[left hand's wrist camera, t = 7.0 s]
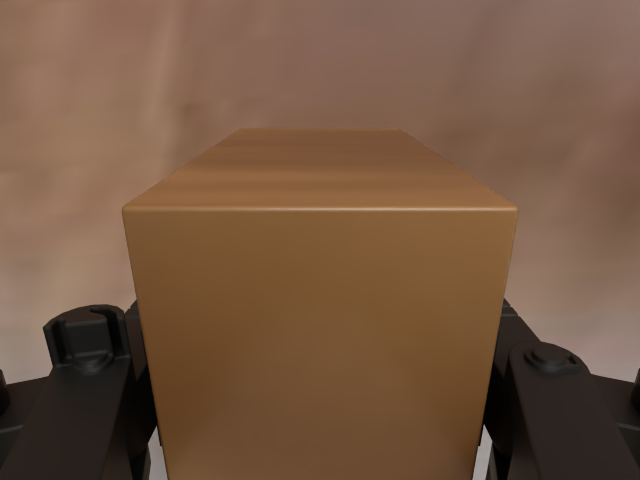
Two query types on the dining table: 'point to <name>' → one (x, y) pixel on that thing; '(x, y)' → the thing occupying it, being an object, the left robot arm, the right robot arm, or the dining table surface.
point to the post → (320, 306)
